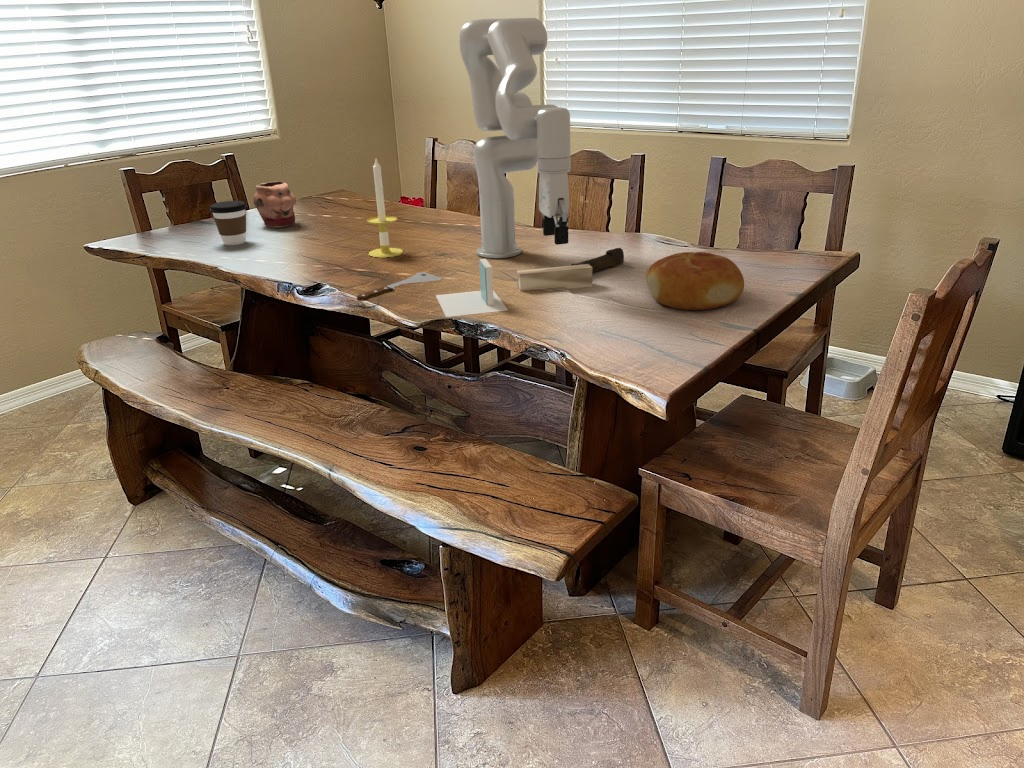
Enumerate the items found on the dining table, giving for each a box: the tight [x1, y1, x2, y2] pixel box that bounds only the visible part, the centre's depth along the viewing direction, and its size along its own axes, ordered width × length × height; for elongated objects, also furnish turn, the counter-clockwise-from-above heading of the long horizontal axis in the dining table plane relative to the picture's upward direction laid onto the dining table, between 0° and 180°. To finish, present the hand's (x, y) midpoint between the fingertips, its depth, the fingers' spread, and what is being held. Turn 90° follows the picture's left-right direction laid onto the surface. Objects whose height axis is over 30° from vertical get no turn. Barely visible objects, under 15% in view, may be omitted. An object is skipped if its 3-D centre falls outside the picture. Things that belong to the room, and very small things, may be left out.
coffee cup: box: [209, 200, 248, 246], centre depth 239 cm, size 11×11×12 cm
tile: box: [478, 258, 494, 306], centre depth 179 cm, size 7×2×9 cm, turn 13°
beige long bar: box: [516, 264, 593, 292], centre depth 189 cm, size 3×18×5 cm, turn 102°
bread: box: [645, 251, 745, 311], centre depth 179 cm, size 23×23×10 cm
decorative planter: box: [253, 181, 297, 228], centre depth 260 cm, size 20×12×14 cm, turn 51°
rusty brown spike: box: [569, 247, 625, 273], centre depth 202 cm, size 19×4×5 cm, turn 130°
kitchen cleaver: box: [356, 271, 443, 301], centre depth 194 cm, size 24×1×10 cm
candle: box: [366, 158, 404, 259], centre depth 219 cm, size 10×10×27 cm
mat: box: [435, 289, 509, 318], centre depth 181 cm, size 16×14×1 cm
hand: (555, 239), depth 185 cm, fingers open, 9 cm apart
